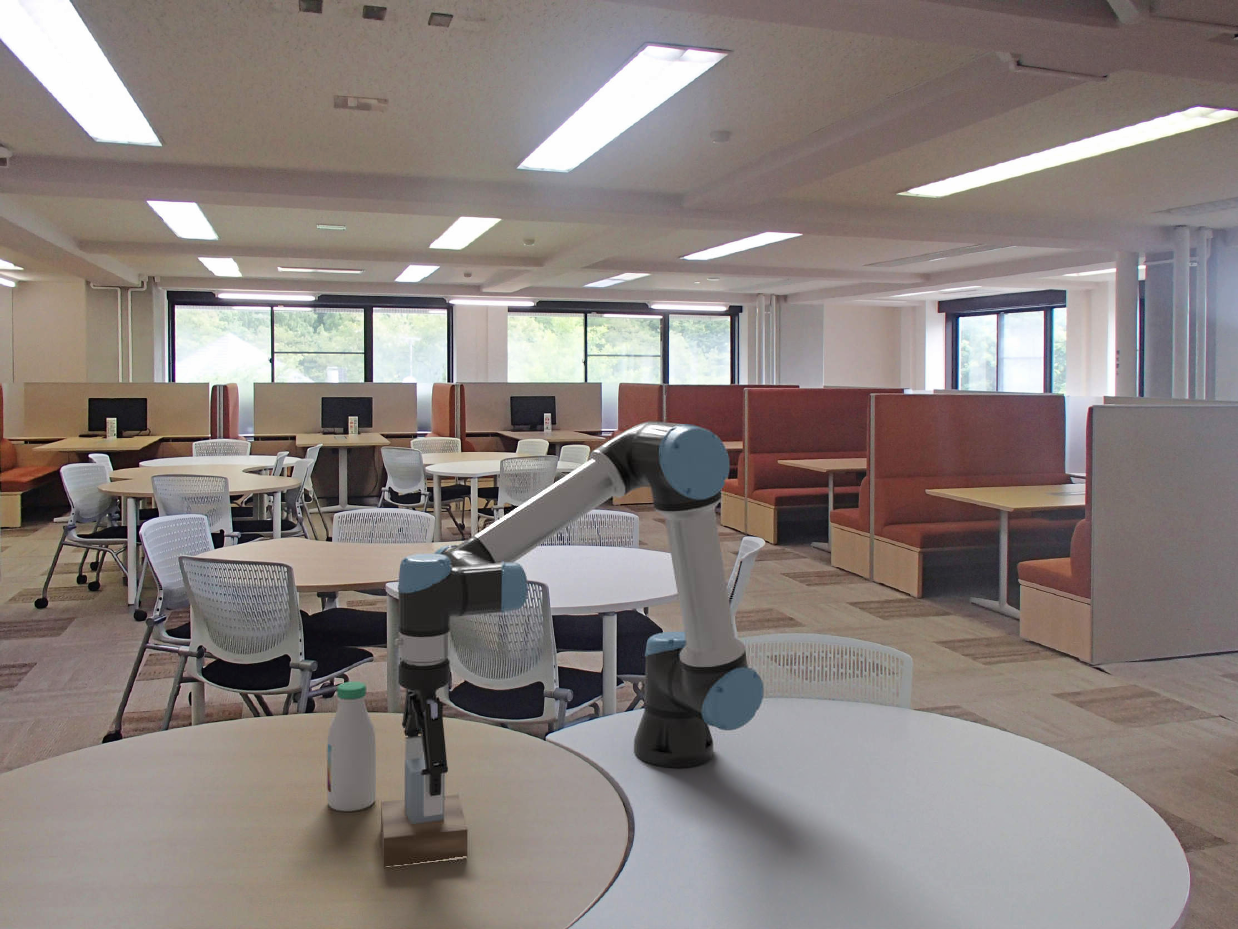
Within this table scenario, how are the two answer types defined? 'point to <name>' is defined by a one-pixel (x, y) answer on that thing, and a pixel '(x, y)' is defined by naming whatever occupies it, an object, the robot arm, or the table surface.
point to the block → (417, 792)
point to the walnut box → (422, 834)
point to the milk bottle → (351, 752)
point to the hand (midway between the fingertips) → (423, 795)
